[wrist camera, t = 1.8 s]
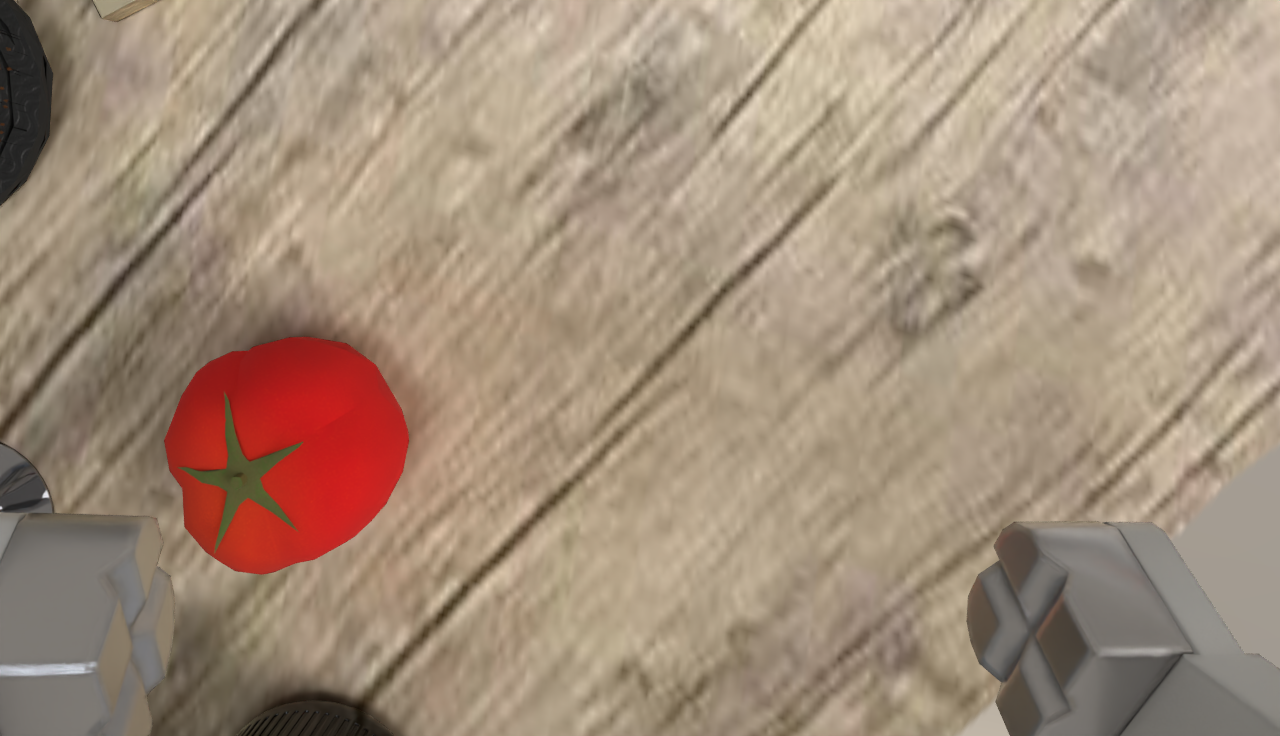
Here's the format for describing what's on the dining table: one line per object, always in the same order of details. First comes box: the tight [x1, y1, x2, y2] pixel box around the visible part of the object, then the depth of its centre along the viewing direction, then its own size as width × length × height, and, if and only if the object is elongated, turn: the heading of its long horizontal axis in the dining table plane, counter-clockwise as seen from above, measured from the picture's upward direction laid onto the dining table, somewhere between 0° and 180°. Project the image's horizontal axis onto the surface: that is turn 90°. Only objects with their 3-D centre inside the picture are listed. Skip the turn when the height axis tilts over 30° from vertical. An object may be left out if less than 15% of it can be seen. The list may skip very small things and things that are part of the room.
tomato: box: [164, 337, 409, 574], centre depth 44 cm, size 9×10×8 cm
